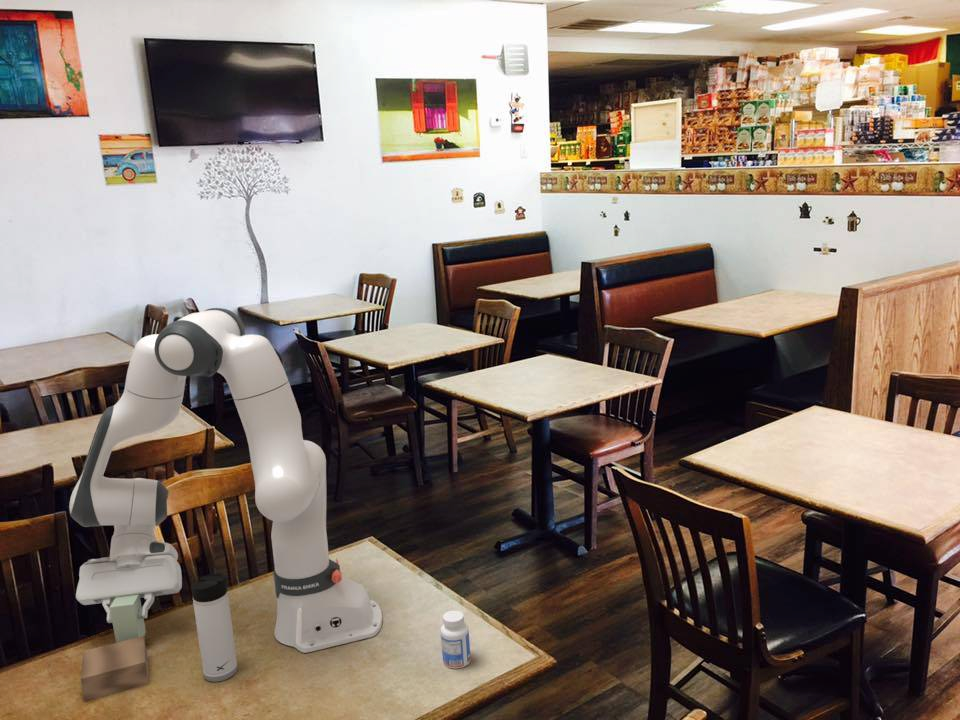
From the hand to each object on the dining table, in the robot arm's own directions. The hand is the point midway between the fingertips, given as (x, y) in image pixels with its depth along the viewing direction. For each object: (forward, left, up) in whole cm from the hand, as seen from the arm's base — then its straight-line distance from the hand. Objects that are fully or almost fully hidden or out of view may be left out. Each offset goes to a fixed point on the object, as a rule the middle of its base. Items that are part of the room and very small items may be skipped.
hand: (127, 620), depth 158 cm
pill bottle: (-65, +19, -7) cm, 68 cm away
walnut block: (0, +9, -7) cm, 12 cm away
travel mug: (-20, +12, -7) cm, 24 cm away
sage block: (0, -1, -5) cm, 5 cm away
